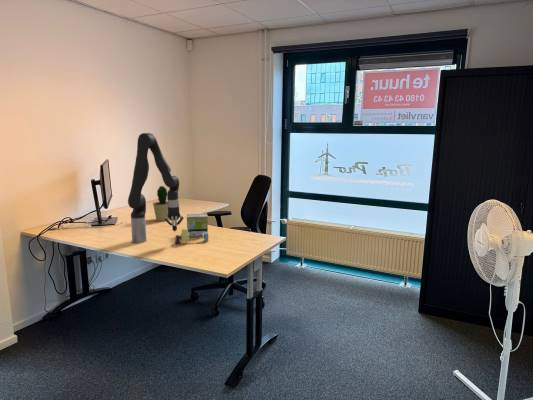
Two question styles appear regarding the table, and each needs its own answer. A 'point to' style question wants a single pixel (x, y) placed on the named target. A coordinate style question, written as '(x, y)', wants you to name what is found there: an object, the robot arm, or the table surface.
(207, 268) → the table surface
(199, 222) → the tea box
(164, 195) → the potted cactus
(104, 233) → the table surface
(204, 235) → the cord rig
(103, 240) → the table surface
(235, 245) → the table surface
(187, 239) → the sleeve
